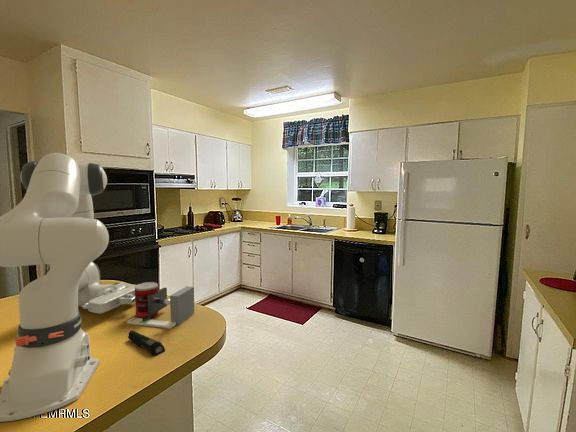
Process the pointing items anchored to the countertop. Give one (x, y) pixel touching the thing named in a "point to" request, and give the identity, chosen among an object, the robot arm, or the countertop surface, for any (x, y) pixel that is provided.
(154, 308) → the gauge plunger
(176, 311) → the push gauge
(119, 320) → the countertop surface
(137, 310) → the canned food
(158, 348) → the electric trimmer
